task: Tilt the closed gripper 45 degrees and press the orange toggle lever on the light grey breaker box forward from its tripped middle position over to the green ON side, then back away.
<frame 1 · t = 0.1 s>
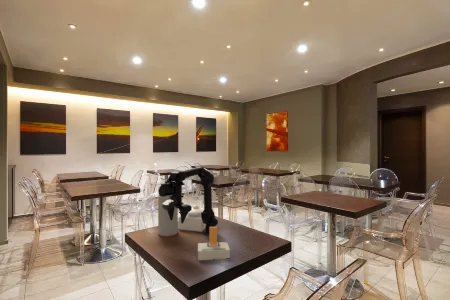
hand: (176, 221, 134), 15 cm above the table, tool pointing down, fingers open, 9 cm apart
breaker lever: (213, 235, 126), point 10 cm above the table, hinge at 0.0°
butter dish: (195, 226, 170), on the table
breaker box: (213, 255, 125), on the table
cylinder vase: (168, 233, 157), on the table
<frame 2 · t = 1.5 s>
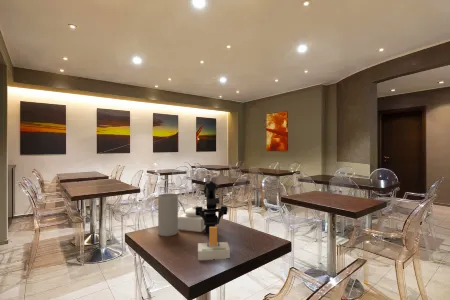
hand: (212, 224, 135), 13 cm above the table, tool tilted 45°, fingers open, 7 cm apart
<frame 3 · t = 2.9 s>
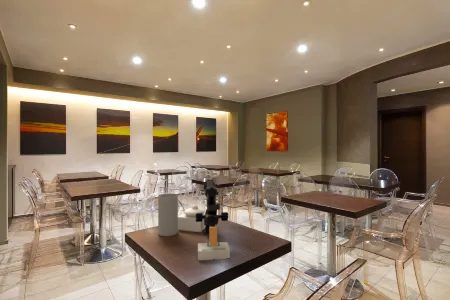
hand: (212, 230, 131), 10 cm above the table, tool tilted 45°, fingers closed
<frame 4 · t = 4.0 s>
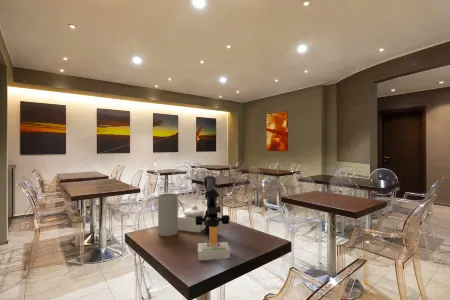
hand: (213, 234, 127), 10 cm above the table, tool tilted 45°, fingers closed, pressing on breaker lever
breaker lever: (213, 235, 126), point 10 cm above the table, hinge at 0.2°, touching gripper
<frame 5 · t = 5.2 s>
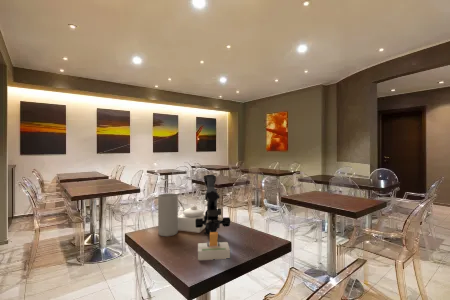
hand: (213, 237, 124), 9 cm above the table, tool tilted 45°, fingers closed, pressing on breaker lever
breaker lever: (213, 239, 123), point 9 cm above the table, hinge at 31.5°, touching gripper
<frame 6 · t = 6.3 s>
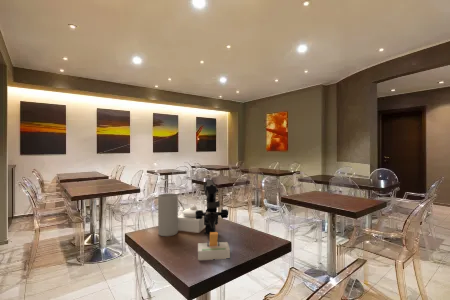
hand: (212, 228, 133), 11 cm above the table, tool tilted 45°, fingers closed
breaker lever: (213, 239, 123), point 9 cm above the table, hinge at 31.6°
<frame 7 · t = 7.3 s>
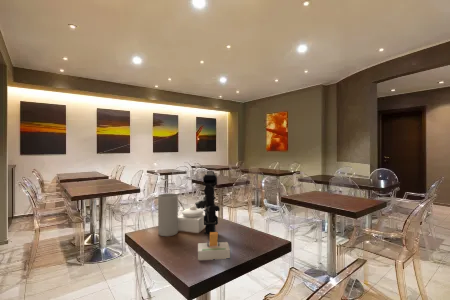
hand: (209, 222, 140), 12 cm above the table, tool pointing down, fingers closed
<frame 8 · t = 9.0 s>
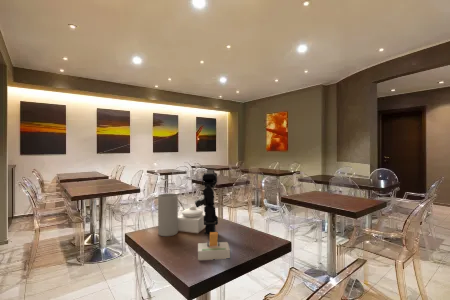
hand: (209, 220, 142), 13 cm above the table, tool pointing down, fingers closed
at the end: breaker lever at +32° (first picture: +0°) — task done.
